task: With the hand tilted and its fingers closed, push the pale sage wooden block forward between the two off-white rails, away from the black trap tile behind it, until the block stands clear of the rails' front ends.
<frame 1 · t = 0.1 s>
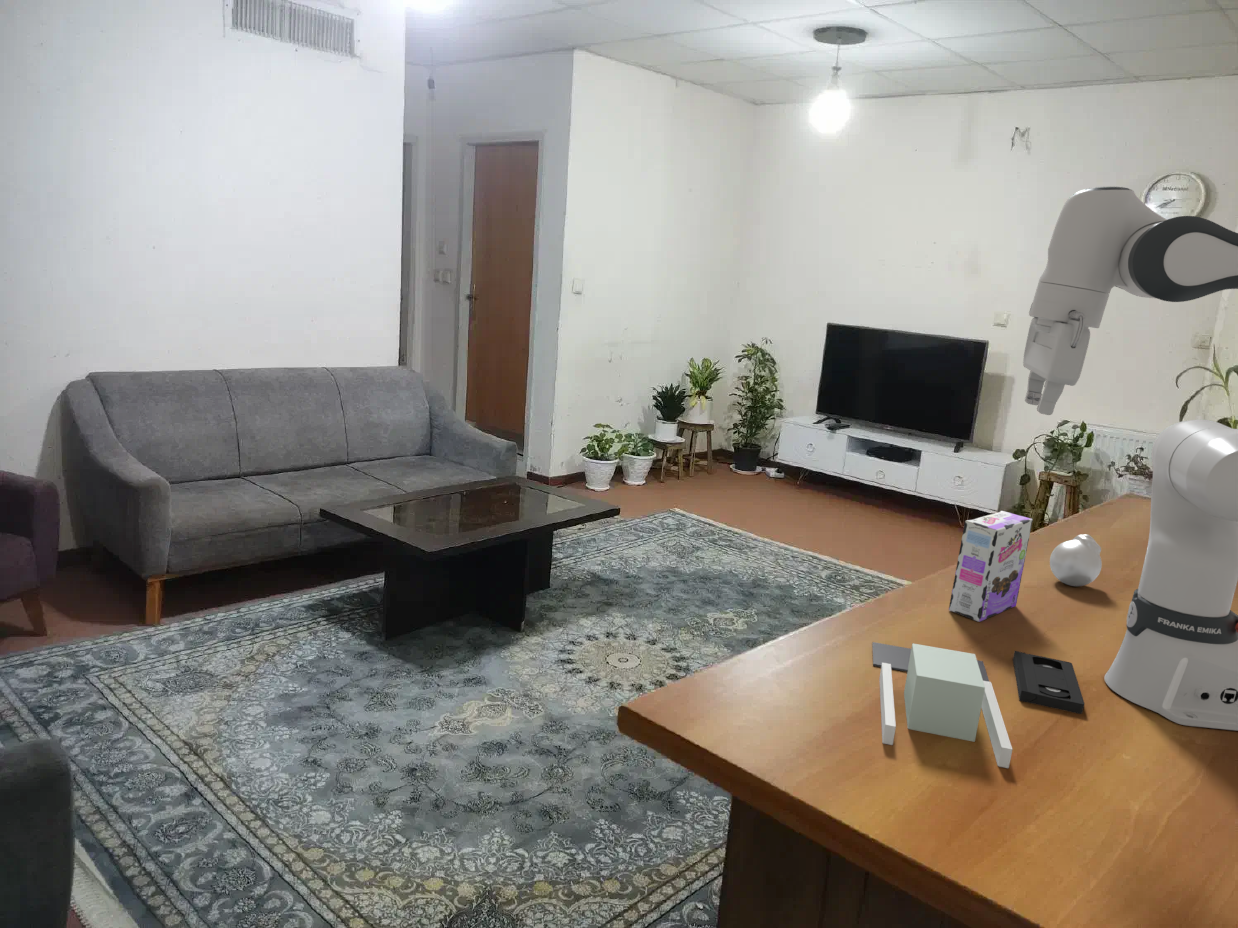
hand: (1037, 408, 124), 39 cm above the table, tool pointing down, fingers open, 8 cm apart
vhs tape: (1044, 689, 128), on the table
candy box: (982, 609, 155), on the table
channel: (938, 719, 115), on the table
sage block: (937, 716, 116), on the table
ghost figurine: (1072, 585, 171), on the table
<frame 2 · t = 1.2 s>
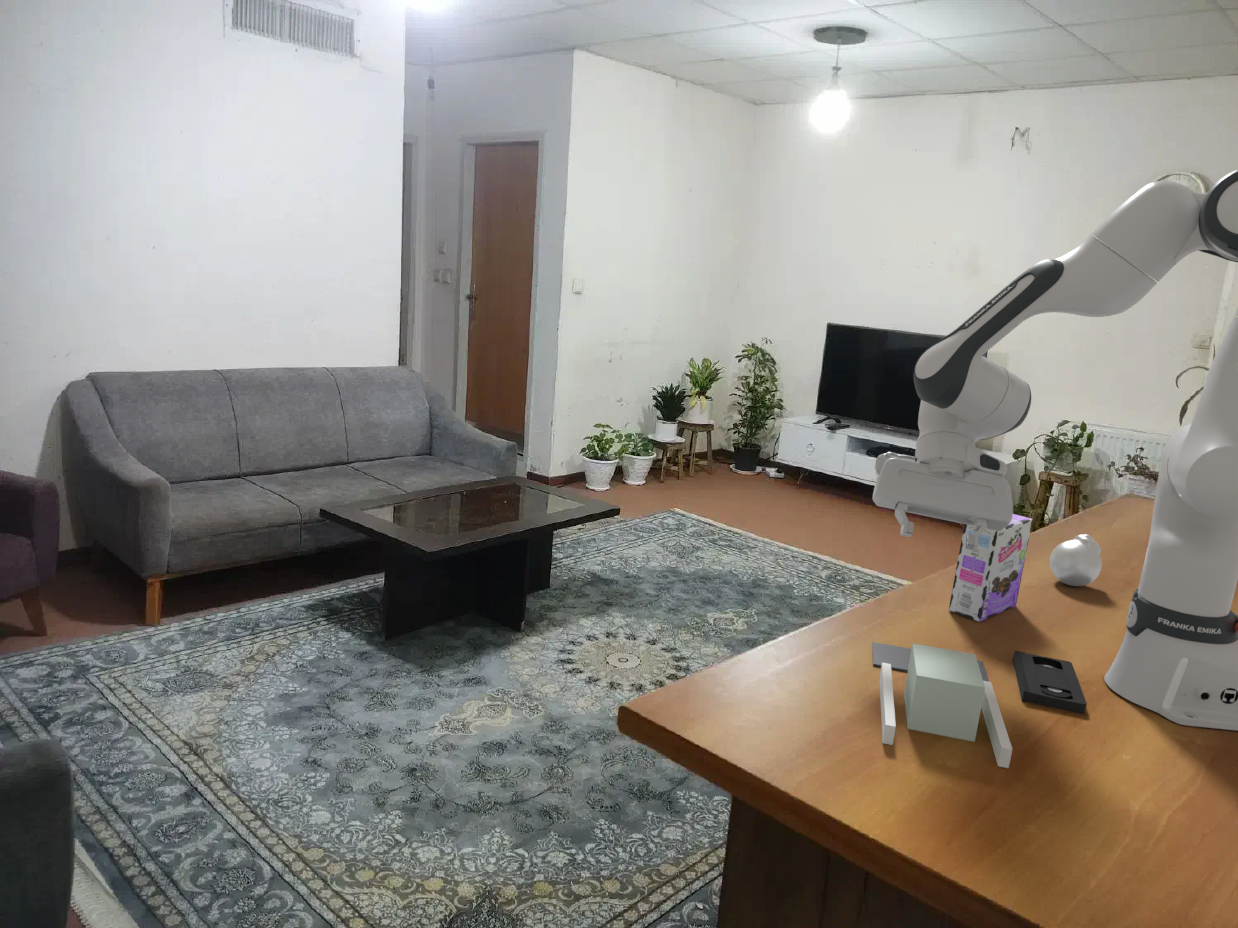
hand: (938, 541, 132), 17 cm above the table, tool tilted 45°, fingers open, 8 cm apart
nothing on the table moved.
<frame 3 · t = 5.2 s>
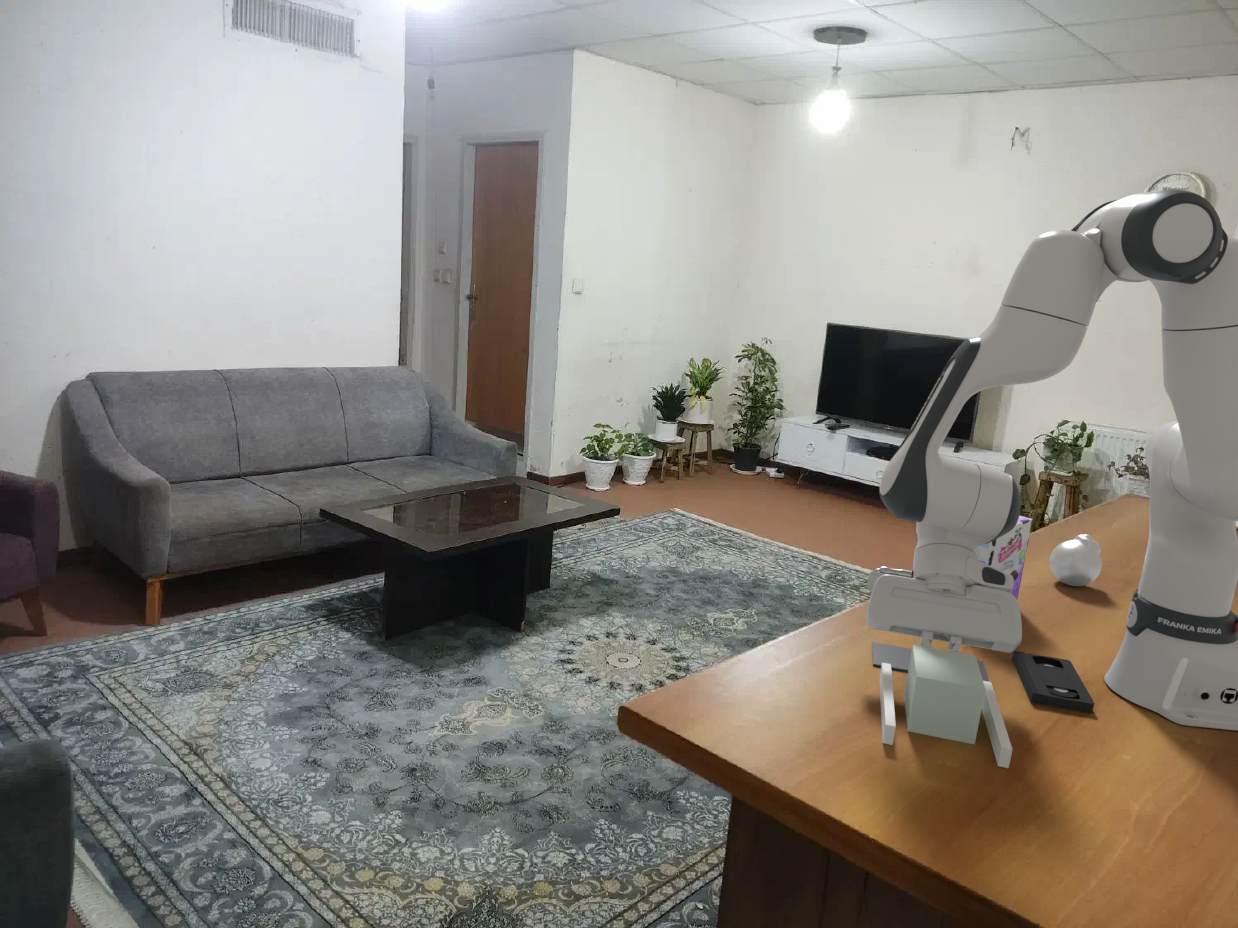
hand: (938, 668, 120), 4 cm above the table, tool tilted 45°, fingers closed, pressing on sage block
sage block: (937, 718, 115), on the table, touching gripper
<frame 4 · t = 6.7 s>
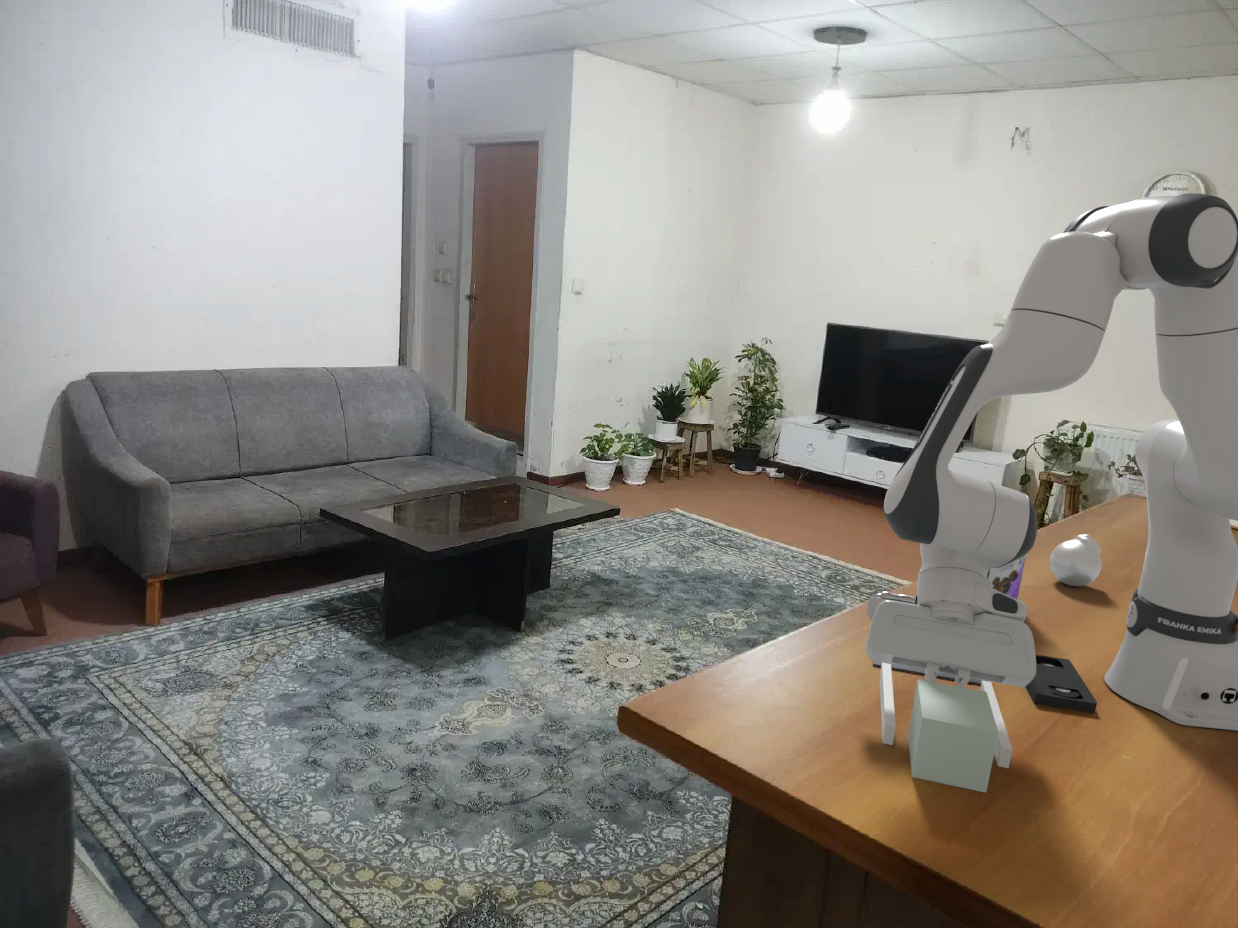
hand: (945, 705, 109), 4 cm above the table, tool tilted 45°, fingers closed, pressing on sage block
sage block: (945, 761, 105), on the table, touching gripper
everything else where it was.
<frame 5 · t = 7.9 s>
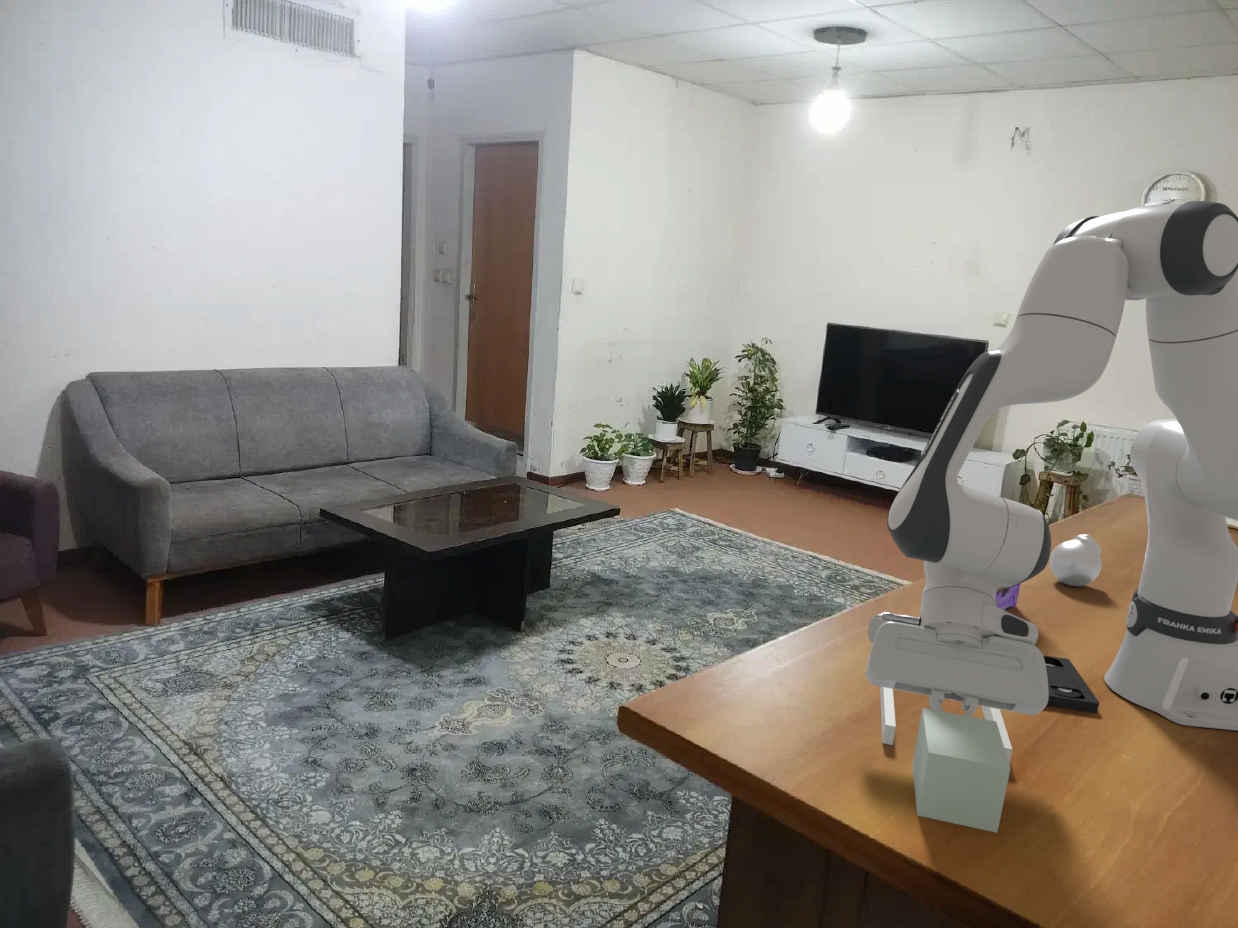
hand: (951, 734, 102), 4 cm above the table, tool tilted 45°, fingers closed, pressing on sage block
sage block: (952, 797, 98), on the table, touching gripper
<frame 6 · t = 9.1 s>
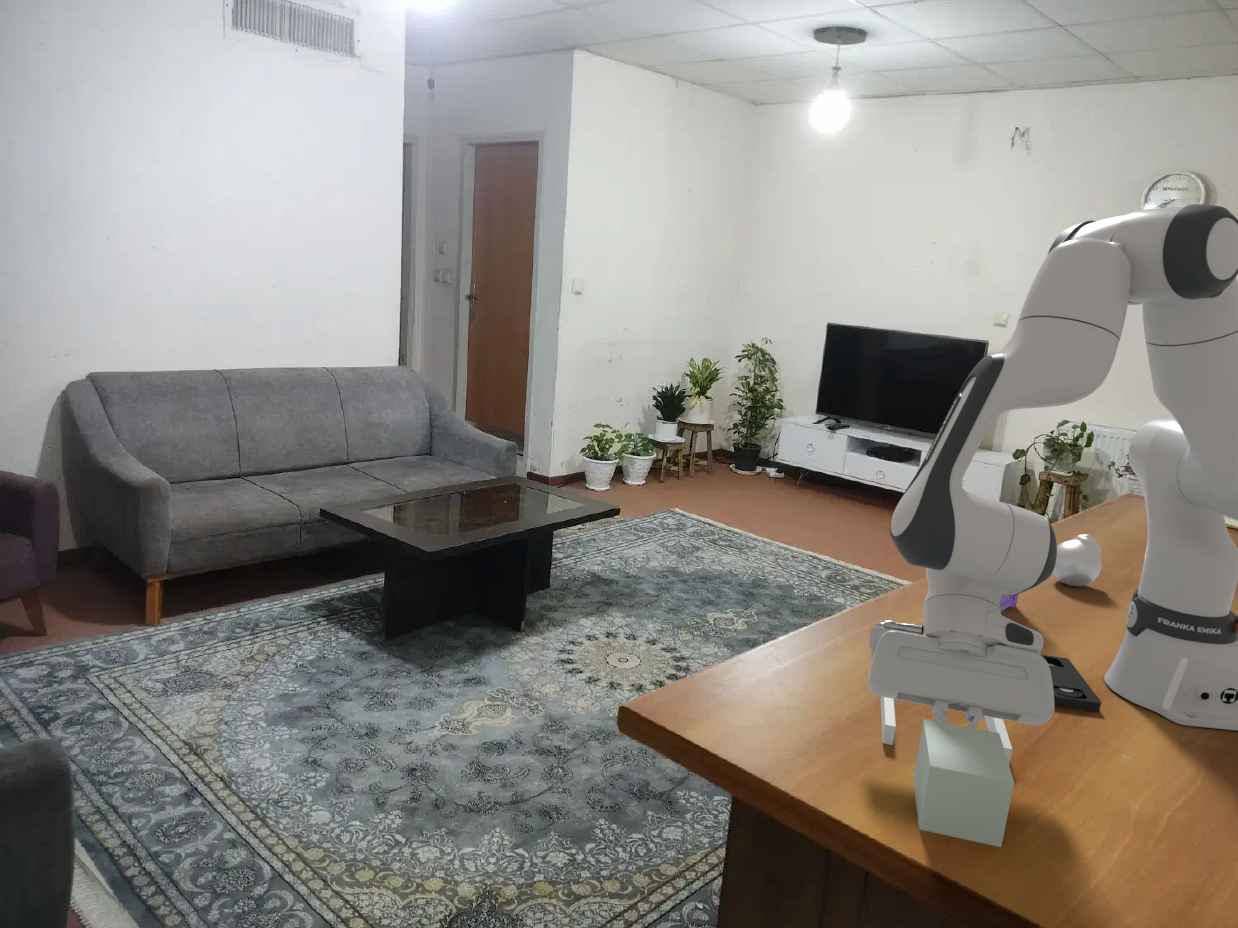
hand: (955, 746, 100), 4 cm above the table, tool tilted 45°, fingers closed
sage block: (954, 810, 96), on the table
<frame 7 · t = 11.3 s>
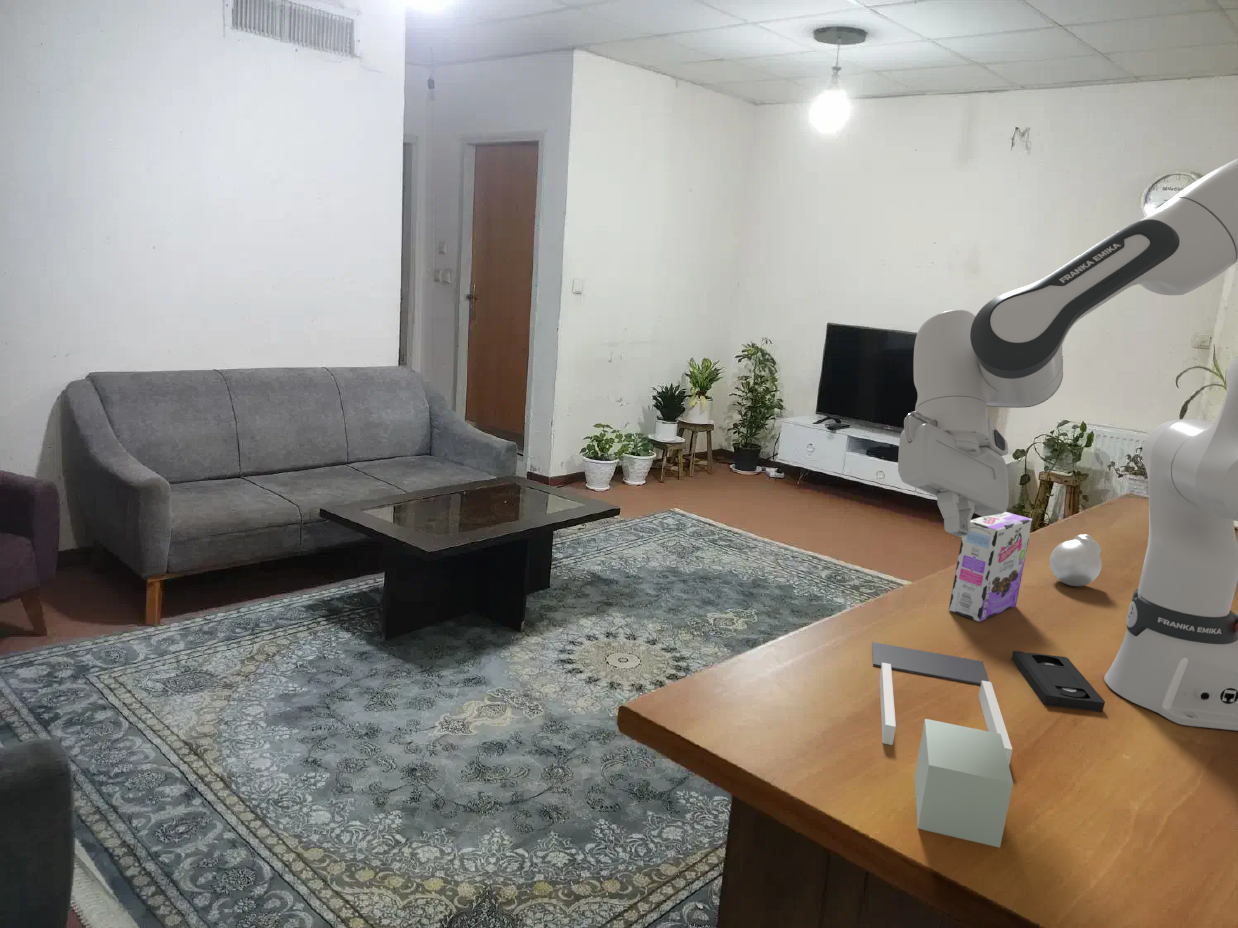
hand: (957, 534, 111), 25 cm above the table, tool tilted 35°, fingers closed
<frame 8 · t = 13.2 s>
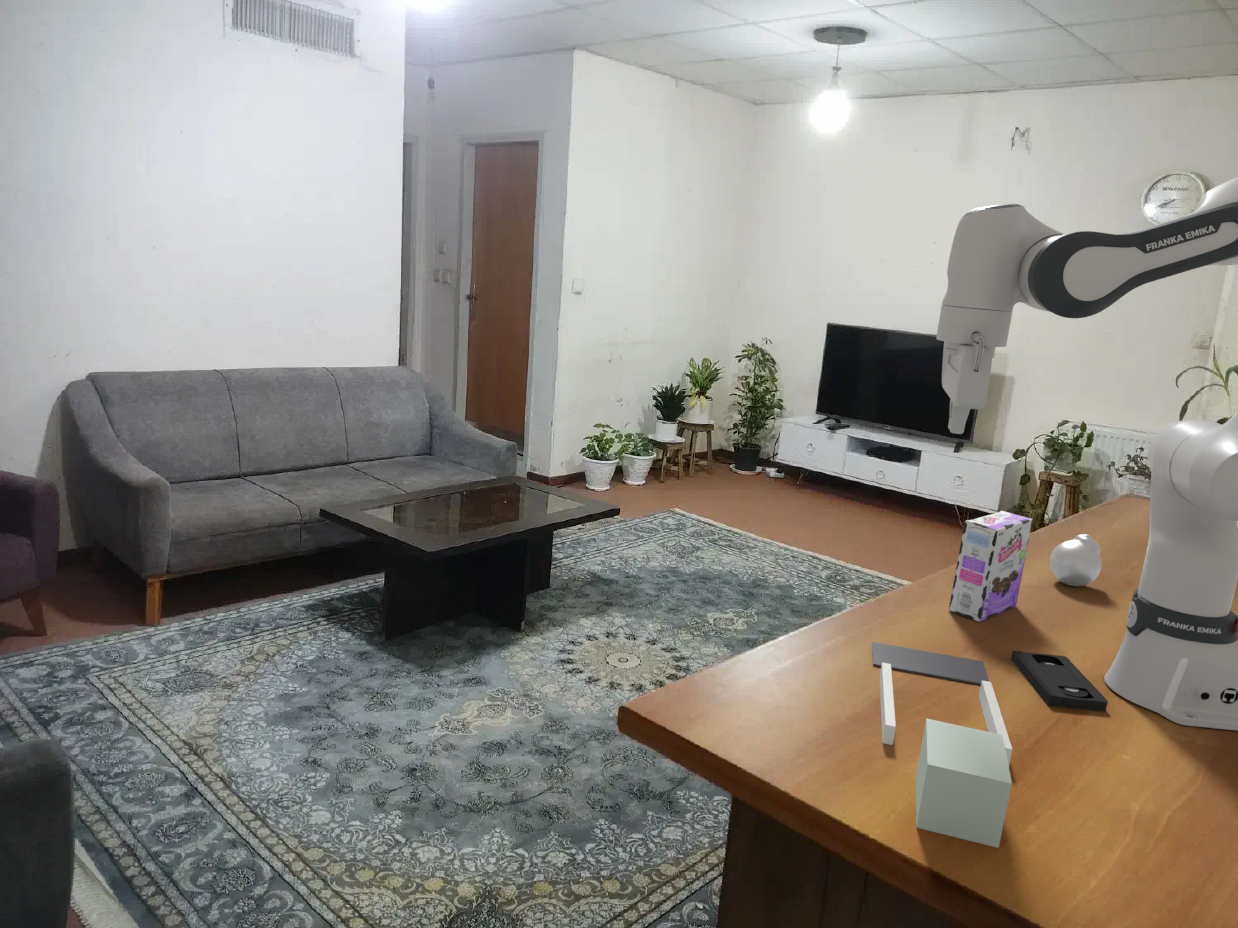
hand: (955, 432, 121), 35 cm above the table, tool pointing down, fingers closed
at the end: sage block inside the target area (0.2 cm from its centre), on the table; sage block tilted 0° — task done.
